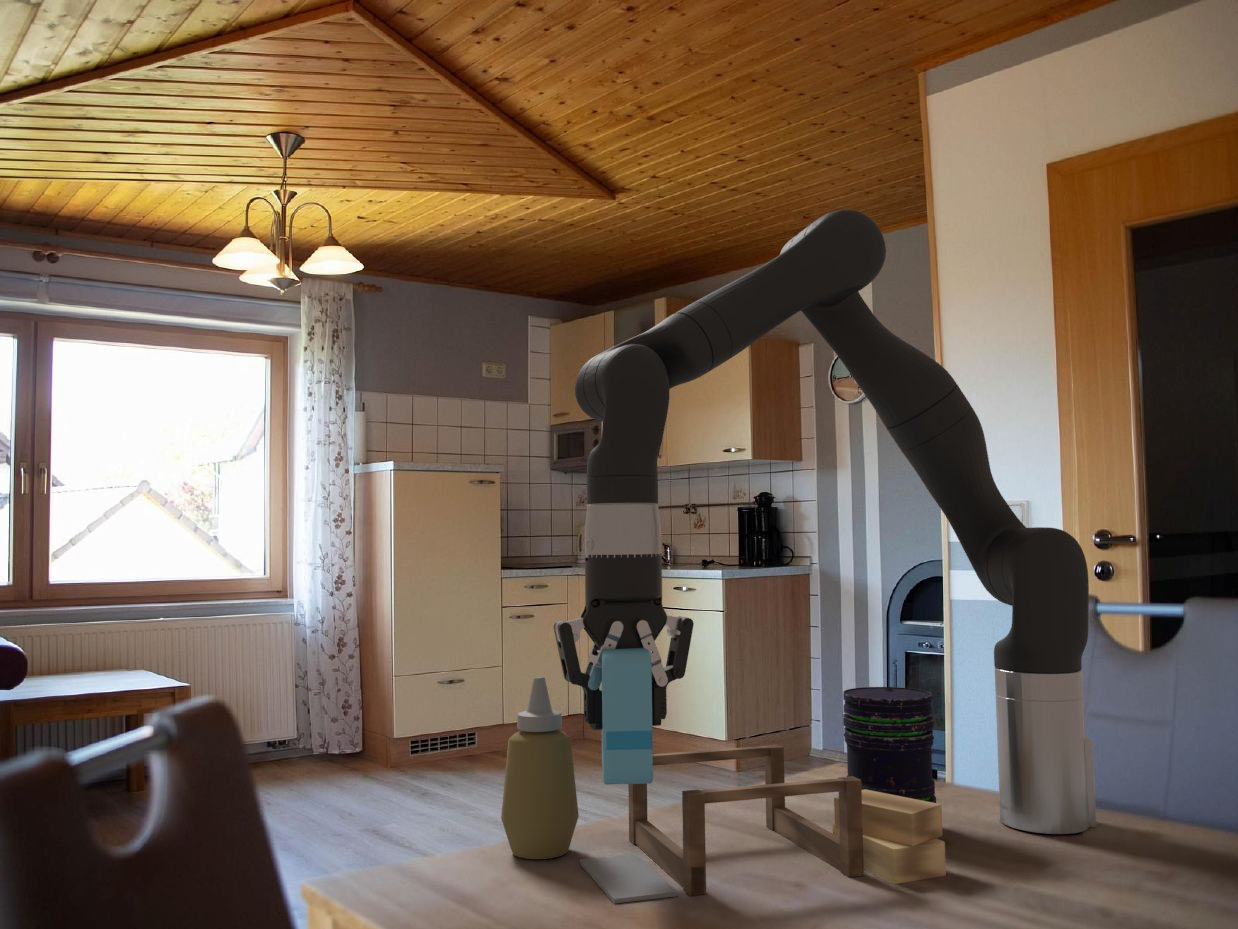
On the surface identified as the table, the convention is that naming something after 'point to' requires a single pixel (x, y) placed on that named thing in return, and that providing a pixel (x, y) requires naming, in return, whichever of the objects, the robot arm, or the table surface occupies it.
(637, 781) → the blue rounded block
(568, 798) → the squeeze bottle
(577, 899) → the table surface
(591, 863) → the mat
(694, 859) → the frame
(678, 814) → the table surface
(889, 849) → the offcut lower
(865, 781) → the dark navy cylinder
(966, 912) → the table surface
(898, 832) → the offcut upper
